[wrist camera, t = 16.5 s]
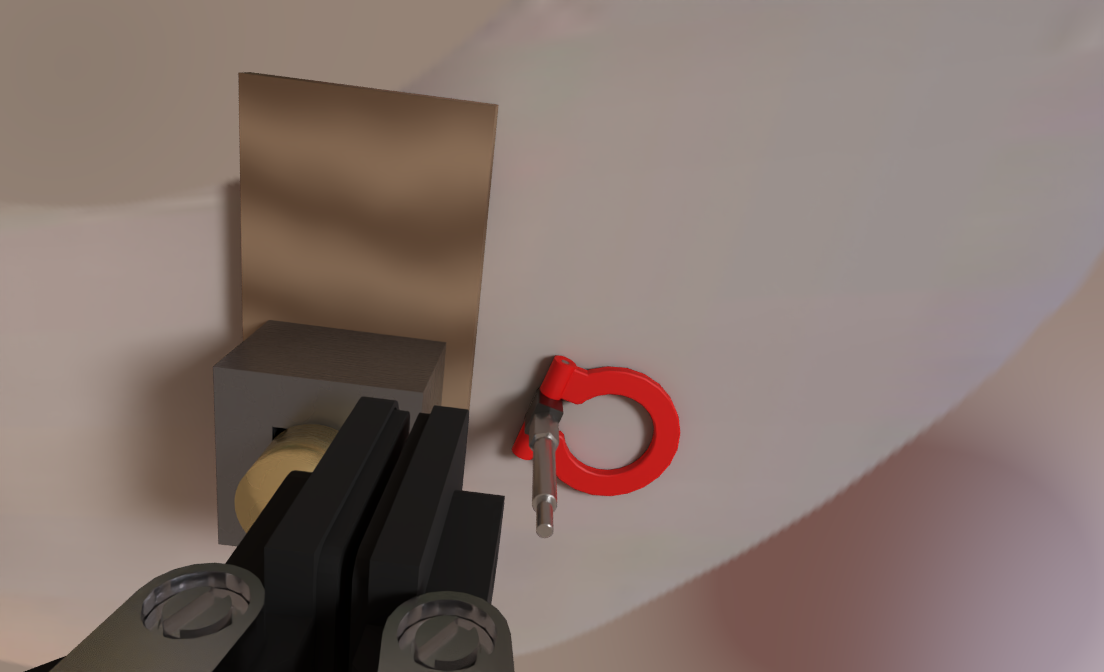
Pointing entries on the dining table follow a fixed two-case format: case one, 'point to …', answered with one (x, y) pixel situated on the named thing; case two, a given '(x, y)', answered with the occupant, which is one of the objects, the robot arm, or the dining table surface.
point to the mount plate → (365, 212)
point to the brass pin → (280, 467)
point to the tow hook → (553, 454)
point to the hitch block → (308, 391)
